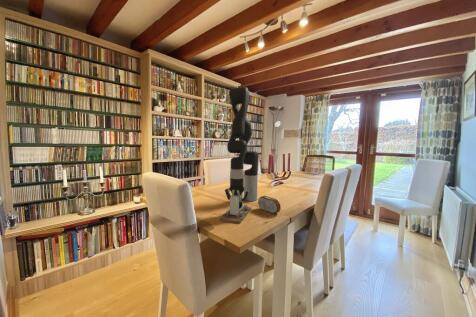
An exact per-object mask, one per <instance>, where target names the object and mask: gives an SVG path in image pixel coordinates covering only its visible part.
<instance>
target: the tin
mask: <svg viewBox="0 0 476 317" xmlns="http://www.w3.org/2000/svg"><path fill="white" fill-rule="evenodd" d="M257 203H258V207H259V208H260V209H261V210H262V211H264V212H268V213H270V214H274V215H275V214H278V213H279V212H280V211H281V208H282V207H281V203H280V201H278V199H276V198H273V197H270V196H267V195H262V196H260V197H258V198H257Z"/></svg>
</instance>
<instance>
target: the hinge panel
mask: <svg viewBox="0 0 476 317" xmlns="http://www.w3.org/2000/svg"><path fill="white" fill-rule="evenodd" d="M251 210H252V206H248V204H243V208H242V209H241V210H240V211H238V212H237V215H232V214H230V208H228V209H227V210H226V212H224V214H222V215H221V217H219V222H220V221H221V222H226V223H234V224H241V223H242V222H243V221H244V220H245V219H246V217H247V216H248V214H249V213H250V212H251Z"/></svg>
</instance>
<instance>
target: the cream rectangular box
mask: <svg viewBox="0 0 476 317" xmlns="http://www.w3.org/2000/svg"><path fill="white" fill-rule="evenodd" d="M242 198H244V192H243V193H242ZM239 202H240V201H239V196H238V195H233V196H231V197H230V200H229V209H230V214H232V215H237V212H238V211H240V210H241V209H242V208H243V206H244V201H243V202H242V208H241V209H239Z"/></svg>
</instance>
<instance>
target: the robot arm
mask: <svg viewBox="0 0 476 317" xmlns="http://www.w3.org/2000/svg"><path fill="white" fill-rule="evenodd" d="M228 93H229V94H228V95H229V100H230V101H229V102H230V105H231V109H232V112H233V115H234V117H233V119H232V123H231V133H230V137H229V140H228V142H227V146H226V149H227V151H228V153H229V154H240V155H239V156H236V157H232V158H231V159H230V169H229V170H230V171H229V187H227V188H225V190H224V192H225V195H226V197H227V200H228V201H230V197H231V196H233V195H238V196H239V201H240V202H239V209H241V208H242V202H243V203H244V202H246V201H247V202H254V201H258V172H259V163H260V162H259V158H260V157H259V152H257V151H255V150H254V151H253V150H251V151H249V150H248V144H249V142H250V140H251V138H252V136H253V129H252V123H251V121H250V120H249V119H248V118H247V114H248V108H249V101H250V91H249V89H248V87H247V86H240V87H232V88H230V89H229V92H228ZM239 105H241V106H239ZM244 165H247V166H251V167H250V168H248V169H245V170H244ZM242 193H243V198H242Z"/></svg>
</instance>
